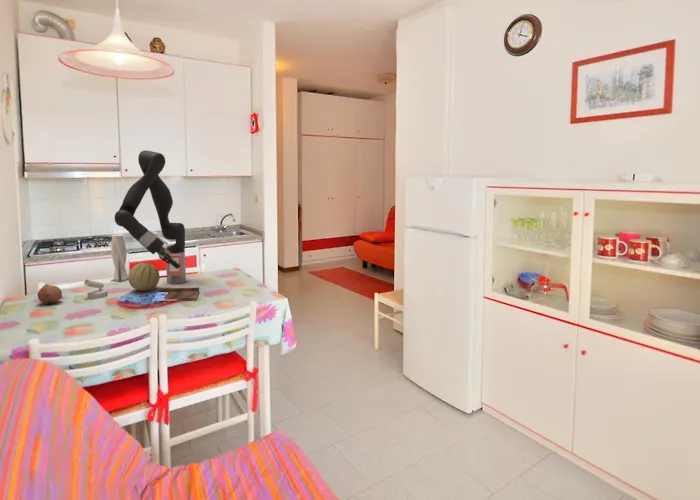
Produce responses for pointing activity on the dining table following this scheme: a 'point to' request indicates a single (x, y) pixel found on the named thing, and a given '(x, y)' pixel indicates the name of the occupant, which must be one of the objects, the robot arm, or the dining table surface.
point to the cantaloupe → (143, 277)
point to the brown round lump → (49, 294)
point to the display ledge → (181, 293)
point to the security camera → (97, 292)
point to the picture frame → (171, 269)
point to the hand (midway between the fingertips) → (179, 266)
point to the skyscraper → (119, 257)
